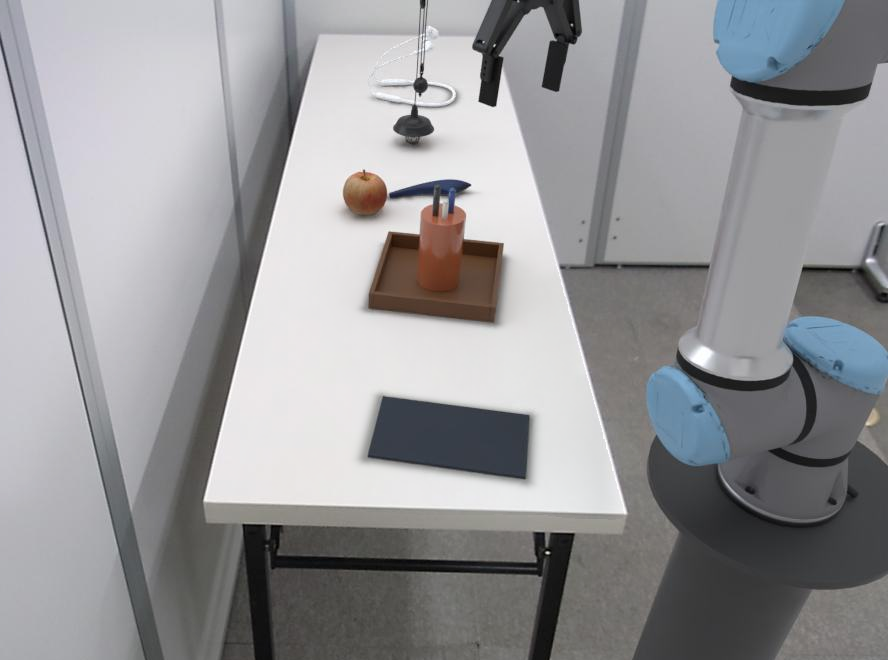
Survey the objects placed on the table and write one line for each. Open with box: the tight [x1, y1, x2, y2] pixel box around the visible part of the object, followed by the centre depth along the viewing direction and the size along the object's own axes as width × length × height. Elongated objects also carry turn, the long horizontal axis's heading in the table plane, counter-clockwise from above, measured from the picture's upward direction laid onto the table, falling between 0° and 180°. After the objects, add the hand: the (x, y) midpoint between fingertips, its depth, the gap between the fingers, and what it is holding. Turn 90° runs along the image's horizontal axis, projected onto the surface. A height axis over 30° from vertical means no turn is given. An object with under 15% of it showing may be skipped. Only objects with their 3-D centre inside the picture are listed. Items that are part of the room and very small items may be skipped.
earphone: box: [367, 25, 457, 108], centre depth 205 cm, size 14×17×18 cm
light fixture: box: [392, 0, 435, 146], centre depth 176 cm, size 10×8×31 cm
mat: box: [367, 395, 530, 480], centre depth 118 cm, size 20×12×1 cm, turn 79°
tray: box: [367, 231, 505, 323], centre depth 146 cm, size 20×20×3 cm
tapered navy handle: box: [388, 178, 472, 199], centre depth 169 cm, size 16×4×2 cm, turn 99°
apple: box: [342, 169, 388, 216], centre depth 162 cm, size 8×8×8 cm
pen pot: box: [417, 185, 467, 292], centre depth 141 cm, size 7×7×17 cm
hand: (519, 96), depth 128 cm, fingers open, 13 cm apart
